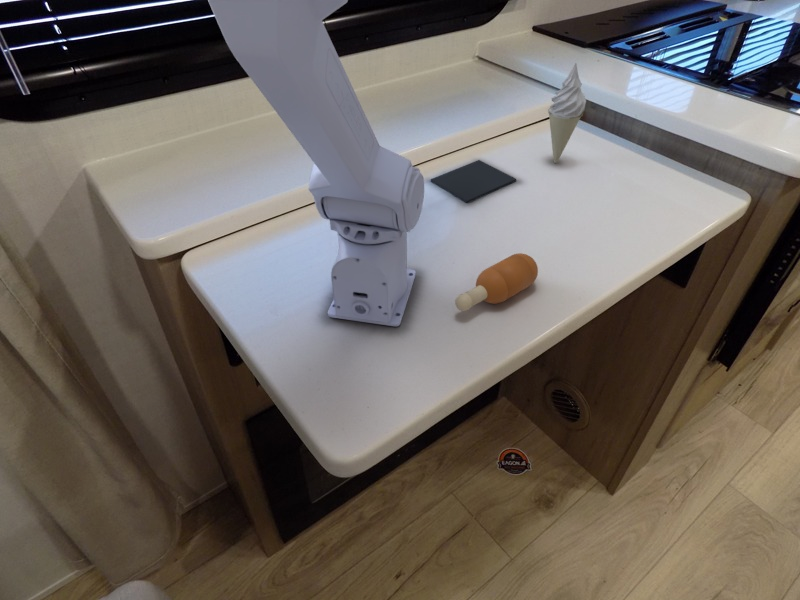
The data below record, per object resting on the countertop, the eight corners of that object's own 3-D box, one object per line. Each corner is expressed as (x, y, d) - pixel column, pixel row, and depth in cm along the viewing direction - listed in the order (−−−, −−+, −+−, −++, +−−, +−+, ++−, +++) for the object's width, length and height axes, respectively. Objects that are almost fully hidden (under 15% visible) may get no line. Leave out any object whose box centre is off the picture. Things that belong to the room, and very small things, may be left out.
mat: (466, 203, 74) (467, 200, 74) (430, 181, 79) (430, 179, 79) (516, 181, 79) (516, 178, 79) (478, 162, 84) (479, 159, 84)
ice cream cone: (575, 170, 81) (598, 68, 71) (542, 170, 81) (560, 68, 72) (568, 155, 85) (589, 57, 75) (536, 155, 85) (553, 57, 75)
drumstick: (469, 330, 55) (472, 301, 53) (444, 309, 58) (445, 281, 55) (542, 286, 60) (548, 258, 58) (516, 269, 63) (521, 242, 60)
